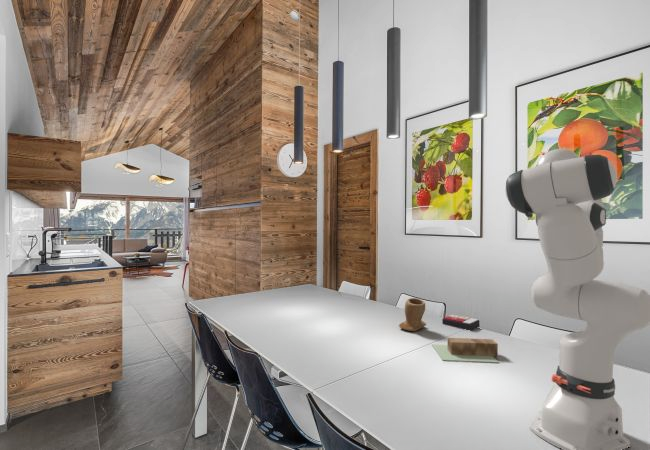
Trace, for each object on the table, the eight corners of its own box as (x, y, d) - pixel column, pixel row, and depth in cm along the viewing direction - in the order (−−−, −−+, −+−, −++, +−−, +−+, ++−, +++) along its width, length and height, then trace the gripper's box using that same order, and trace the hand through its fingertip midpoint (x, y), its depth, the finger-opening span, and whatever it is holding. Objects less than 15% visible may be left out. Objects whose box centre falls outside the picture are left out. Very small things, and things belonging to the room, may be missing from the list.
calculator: (451, 313, 181) (479, 318, 170) (451, 321, 181) (479, 326, 170) (441, 317, 174) (470, 322, 163) (442, 325, 174) (470, 331, 163)
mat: (481, 347, 142) (481, 346, 142) (498, 363, 126) (498, 362, 126) (431, 345, 143) (431, 344, 143) (442, 360, 127) (442, 359, 127)
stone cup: (417, 335, 156) (417, 303, 155) (395, 329, 164) (396, 299, 164) (432, 328, 166) (433, 298, 166) (411, 322, 175) (412, 294, 175)
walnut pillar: (492, 339, 136) (447, 337, 137) (497, 343, 131) (451, 342, 132) (491, 351, 136) (447, 349, 137) (497, 356, 131) (451, 354, 132)
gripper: (588, 240, 122) (587, 277, 122) (562, 240, 111) (560, 281, 111) (609, 241, 116) (608, 280, 116) (584, 241, 105) (583, 285, 106)
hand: (585, 281), depth 114 cm, fingers closed
